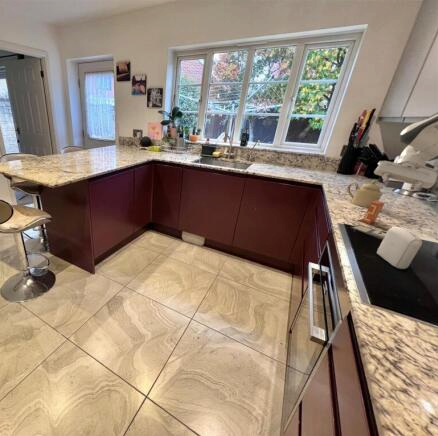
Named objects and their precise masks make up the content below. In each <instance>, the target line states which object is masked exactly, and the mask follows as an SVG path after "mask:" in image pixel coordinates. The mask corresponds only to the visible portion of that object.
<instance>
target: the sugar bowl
mask: <svg viewBox="0 0 438 436" xmlns="http://www.w3.org/2000/svg"><path fill="white" fill-rule="evenodd" d="M376 183H377V179H373V180H372V181H371V182H370V183H365V184H362V185H361V187H360V186H359V184H358V183H357V182H351V183H349V185H348V186H347V194H348V195H349V196H350V197H351V198H352V199H351V203H352V204H354V205H356V206H358V207H363V208H369V206H370V204H371V202H373V201H380V200H381V197H382V195H383V192H382V191H381V190H382V188H381V187H380V186H379V185H377V184H376ZM352 185H354V186H355V193H354V195H353V193H352V192H351V188H352V187H351V186H352Z"/></svg>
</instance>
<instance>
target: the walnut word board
mask: <svg viewBox="0 0 438 436" xmlns="http://www.w3.org/2000/svg"><path fill="white" fill-rule="evenodd" d="M362 220H363V218H361V219H358V220H356V221H357V222H360V223H362V224H365V225H368V226H371V227H374V228H377V229H380V230H382V231H386V232H387V231H388V230H389V229H390V228H392V227H393V225H389V224H386V223H383V222H379V221H377V220H376V221H375V222H374V223H370V224H369V223H366V222H363V221H362Z"/></svg>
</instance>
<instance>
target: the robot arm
mask: <svg viewBox="0 0 438 436" xmlns="http://www.w3.org/2000/svg"><path fill="white" fill-rule="evenodd" d="M437 126H438V112H435V113H433V114H431V115H429V116H428V117H425V118H423V119H421V120H418V121H415V122H413V123H411V124H410V125H408V126H406V127H405V128H404V129H403V130H402V131H401V132H400V133H399V143H402V144H403V145H406V147H405V148H404V149H403V150H402V151H401V153H400V155H399V158H398V159H397V161H396V162H393V161H388V160H379V161H378V163H377V167H376V168H375V169H374V171H373V174H374V175H376V176H380V177H381V178H382V182H383V183H385V184H386V183H387V184H388V182H389V181H390V180H394V181H398V182H401V183H406V184H409V185H411V186H410V187H409V190H411V191H415V190H416V189H417V188H424V189H431V187H433V186H434V185H435V184H436V182H437V180H438V173H437V171H438V167H437V166H435V165H434V164H431V163H430V162H433V161H435V160H438V128H436V127H437Z"/></svg>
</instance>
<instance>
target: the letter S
mask: <svg viewBox="0 0 438 436" xmlns="http://www.w3.org/2000/svg"><path fill="white" fill-rule="evenodd" d="M384 205H385V202H383V201H380V200H379V201H373V202H371V204H370V206H369V207H367V210H366V212H365V214H364V216H363V218H362V219H363V220H362V221H363V222H366V223H369V224H370V223H374V222H375V221H376V222H377V218H378V217H379V215H380V213H381V211H382V209H383V207H384Z"/></svg>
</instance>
